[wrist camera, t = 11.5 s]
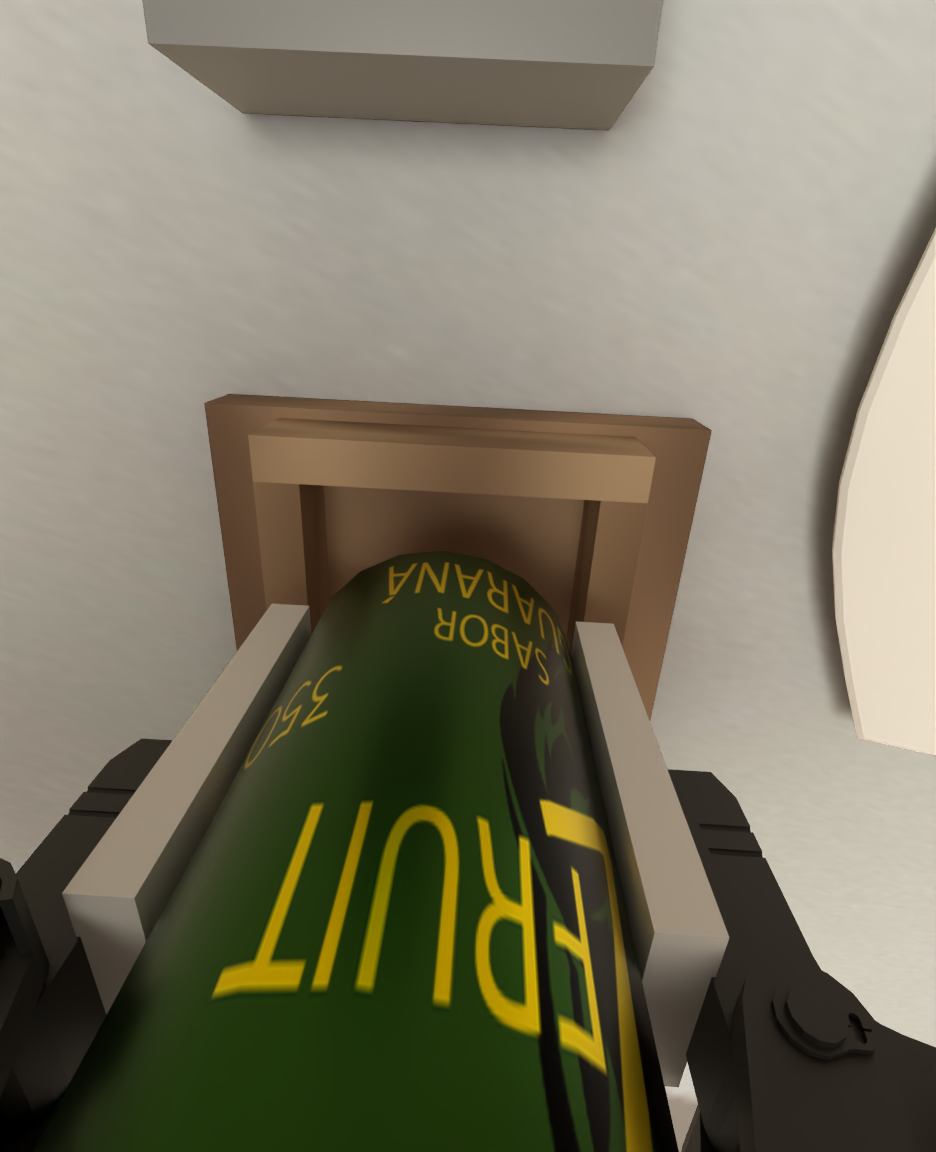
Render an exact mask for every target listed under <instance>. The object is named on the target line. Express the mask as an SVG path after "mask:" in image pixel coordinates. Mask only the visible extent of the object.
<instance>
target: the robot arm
mask: <svg viewBox="0 0 936 1152" xmlns="http://www.w3.org/2000/svg"><path fill="white" fill-rule="evenodd" d="M310 636H311V623H310V609H309V606H305V605H288V604H271V606H270V607H269V608H268V610H267V611H266V612H265V614H264V615H263V617H262V618H261V619H260V621H259V622H258V623H257V625H256V626H255V628H254V629H253V630H252V632H251V633H250V634H249V636H248V637H247V639H246V640H245V641H244V643H243V644H242V646H241V647H240V648H239V650H238V651H237V652H236V654H235V655H234V657H233V658H232V659H231V661H230V662H229V663H228V665H227V666H226V668H225V669H224V670H223V672H222V673H221V674H220V676H219V677H218V679H217V680H216V681H215V683H214V684H213V686H212V687H211V688H210V690H209V691H208V692H207V694H206V695H205V697H204V698H203V699H202V701H201V702H200V703H199V705H198V706H197V708H196V709H195V710H194V712H193V713H192V715H191V716H190V717H189V719H188V720H187V721H186V723H185V724H184V726H183V727H182V728H181V730H180V731H179V732H178V734H177V735H176V737H175V738H174V739H173V741H171V740H155V739H140V740H139V741H137V742H136V743H134V744H133V745H132V746H130V747H129V748H127V749H126V750H124V751H123V752H121V753H120V754H118V755H117V756H116V757H114V758H113V759H111V760H110V761H109V762H108V763H107V765H106V766H105V767H104V768H103V769H102V771H101V772H100V773H99V774H98V775H97V777H96V778H95V779H94V780H93V781H92V783H91V784H90V785H89V786H88V791H87V792H83V794H82V795H81V796H80V797H79V798H78V800H77V801H76V802H75V803H74V804H73V806H72V807H71V808H70V812H69V814H68V815H64V816H63V818H62V819H61V820H60V821H59V822H58V824H57V825H56V826H55V827H54V829H53V830H52V831H51V832H50V833H49V835H48V836H47V837H46V838H45V839H44V841H43V842H42V843H41V844H40V845H39V847H38V848H37V849H36V850H35V851H34V853H33V854H32V855H31V856H30V857H29V859H28V860H27V861H26V862H25V864H24V865H23V866H22V867H21V868H20V870H19V871H18V872H17V873H16V874H15V872H14V870H13V867H12V865H11V863H9V862H7V861H5V860H3V859H1V858H0V1152H33V1150H34V1149H35V1147H36V1145H37V1143H38V1141H39V1139H40V1137H41V1136H42V1134H43V1132H44V1130H45V1128H46V1126H47V1124H48V1123H49V1121H50V1119H51V1117H52V1115H53V1113H54V1112H55V1110H56V1108H57V1106H58V1104H59V1102H60V1100H61V1099H62V1097H63V1095H64V1093H65V1091H66V1089H67V1087H68V1086H69V1084H70V1082H71V1080H72V1078H73V1076H74V1074H75V1073H76V1071H77V1069H78V1067H79V1065H80V1063H81V1061H82V1060H83V1058H84V1056H85V1054H86V1052H87V1050H88V1048H89V1047H90V1045H91V1043H92V1041H93V1039H94V1037H95V1035H96V1034H97V1032H98V1030H99V1028H100V1026H101V1024H102V1022H103V1021H104V1019H105V1017H106V1015H107V1013H108V1011H109V1009H110V1008H111V1006H112V1004H113V1002H114V1000H115V998H116V996H117V995H118V993H119V991H120V989H121V987H122V985H123V983H124V982H125V980H126V978H127V976H128V974H129V972H130V970H131V969H132V967H133V965H134V963H135V961H136V959H137V957H138V956H139V954H140V952H141V950H142V948H143V946H144V944H145V943H146V941H147V939H148V937H149V935H150V933H151V931H152V930H153V928H154V926H155V924H156V922H157V920H158V918H159V917H160V915H161V913H162V911H163V909H164V907H165V906H166V904H167V902H168V900H169V898H170V896H171V894H172V893H173V891H174V889H175V887H176V885H177V883H178V881H179V880H180V878H181V876H182V874H183V872H184V870H185V868H186V867H187V865H188V863H189V861H190V859H191V857H192V855H193V854H194V852H195V850H196V848H197V846H198V844H199V842H200V841H201V839H202V837H203V835H204V833H205V831H206V829H207V828H208V826H209V824H210V822H211V820H212V818H213V816H214V815H215V813H216V811H217V809H218V807H219V805H220V803H221V802H222V800H223V798H224V796H225V794H226V792H227V790H228V789H229V787H230V785H231V783H232V781H233V779H234V777H235V776H236V774H237V772H238V770H239V768H240V766H241V764H242V763H243V761H244V759H245V757H246V755H247V753H248V751H249V750H250V748H251V746H252V744H253V742H254V740H255V738H256V737H257V735H258V733H259V731H260V729H261V727H262V725H263V724H264V722H265V720H266V718H267V716H268V714H269V712H270V711H271V709H272V707H273V705H274V703H275V701H276V700H277V698H278V696H279V694H280V692H281V690H282V688H283V687H284V685H285V683H286V681H287V679H288V677H289V675H290V674H291V672H292V670H293V668H294V666H295V664H296V662H297V661H298V659H299V657H300V655H301V653H302V651H303V649H304V648H305V646H306V644H307V642H308V640H309V638H310ZM571 656H572V660H573V665H574V669H575V674H576V679H577V683H578V688H579V693H580V697H581V702H582V706H583V711H584V716H585V720H586V725H587V730H588V734H589V739H590V744H591V748H592V753H593V757H594V762H595V767H596V771H597V776H598V781H599V785H600V790H601V794H602V799H603V804H604V808H605V813H606V818H607V822H608V827H609V832H610V836H611V841H612V845H613V850H614V855H615V859H616V864H617V869H618V873H619V878H620V882H621V887H622V892H623V896H624V901H625V906H626V910H627V915H628V920H629V924H630V929H631V933H632V938H633V943H634V947H635V952H636V957H637V961H638V966H639V970H640V975H641V980H642V984H643V989H644V994H645V998H646V1003H647V1008H648V1012H649V1017H650V1021H651V1026H652V1031H653V1035H654V1040H655V1045H656V1049H657V1054H658V1058H659V1063H660V1068H661V1072H662V1077H663V1082H664V1086H670V1087H679V1084H680V1081H681V1078H682V1075H683V1072H684V1069H685V1066H686V1063H687V1061H688V1065H689V1069H690V1073H691V1077H692V1081H693V1085H694V1089H695V1093H696V1097H697V1101H698V1106H697V1109H696V1111H695V1114H694V1117H693V1120H692V1122H691V1125H690V1127H689V1130H688V1133H687V1135H686V1139H685V1141H684V1143H683V1146H682V1152H936V1047H933V1046H930V1045H928V1044H925V1043H922V1042H920V1041H917V1040H915V1039H912V1038H909V1037H907V1036H904V1035H902V1034H900V1033H898V1032H896V1031H894V1030H892V1029H889V1028H887V1027H885V1026H883V1025H881V1024H879V1023H878V1022H876V1021H875V1020H874V1019H873V1017H872V1016H871V1015H870V1014H869V1013H868V1011H867V1010H866V1009H865V1008H864V1006H863V1005H862V1004H861V1003H860V1002H859V1000H858V999H857V998H856V997H855V995H854V994H853V993H852V992H851V991H849V990H848V989H847V988H845V987H844V986H843V985H842V984H840V983H839V982H838V981H836V980H835V979H834V978H833V977H831V976H830V975H829V974H828V973H825V972H823V971H822V970H821V969H820V967H819V965H818V964H817V962H816V960H815V959H814V957H813V955H812V953H811V951H810V949H809V947H808V945H807V943H806V941H805V939H804V937H803V935H802V933H801V931H800V929H799V926H798V924H797V922H796V920H795V918H794V916H793V914H792V912H791V910H790V908H789V906H788V904H787V902H786V900H785V898H784V896H783V894H782V891H781V889H780V887H779V885H778V883H777V881H776V879H775V877H774V875H773V873H772V871H771V869H770V867H769V865H768V863H767V861H766V858H763V857H762V850H761V848H760V846H759V844H758V842H757V840H756V838H755V836H754V834H753V833H751V832H750V825H749V823H748V821H747V819H746V817H745V815H744V813H743V811H742V809H741V807H740V805H739V803H738V801H737V799H736V797H735V796H734V795H733V794H732V793H731V792H730V791H729V790H728V789H727V788H726V787H725V786H724V785H723V784H722V783H721V782H720V781H719V780H718V779H717V778H716V777H715V776H714V775H713V774H712V773H711V772H700V771H684V770H668V769H667V767H666V764H665V762H664V759H663V756H662V753H661V751H660V748H659V745H658V743H657V740H656V737H655V734H654V732H653V729H652V726H651V724H650V721H649V718H648V715H647V713H646V710H645V707H644V705H643V702H642V699H641V696H640V694H639V691H638V688H637V686H636V683H635V680H634V677H633V675H632V672H631V669H630V667H629V664H628V661H627V658H626V656H625V653H624V650H623V648H622V645H621V642H620V639H619V637H618V634H617V631H616V629H615V626H614V624H611V623H594V622H577V621H576V623H575V631H574V638H573V645H572V652H571Z"/></svg>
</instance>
